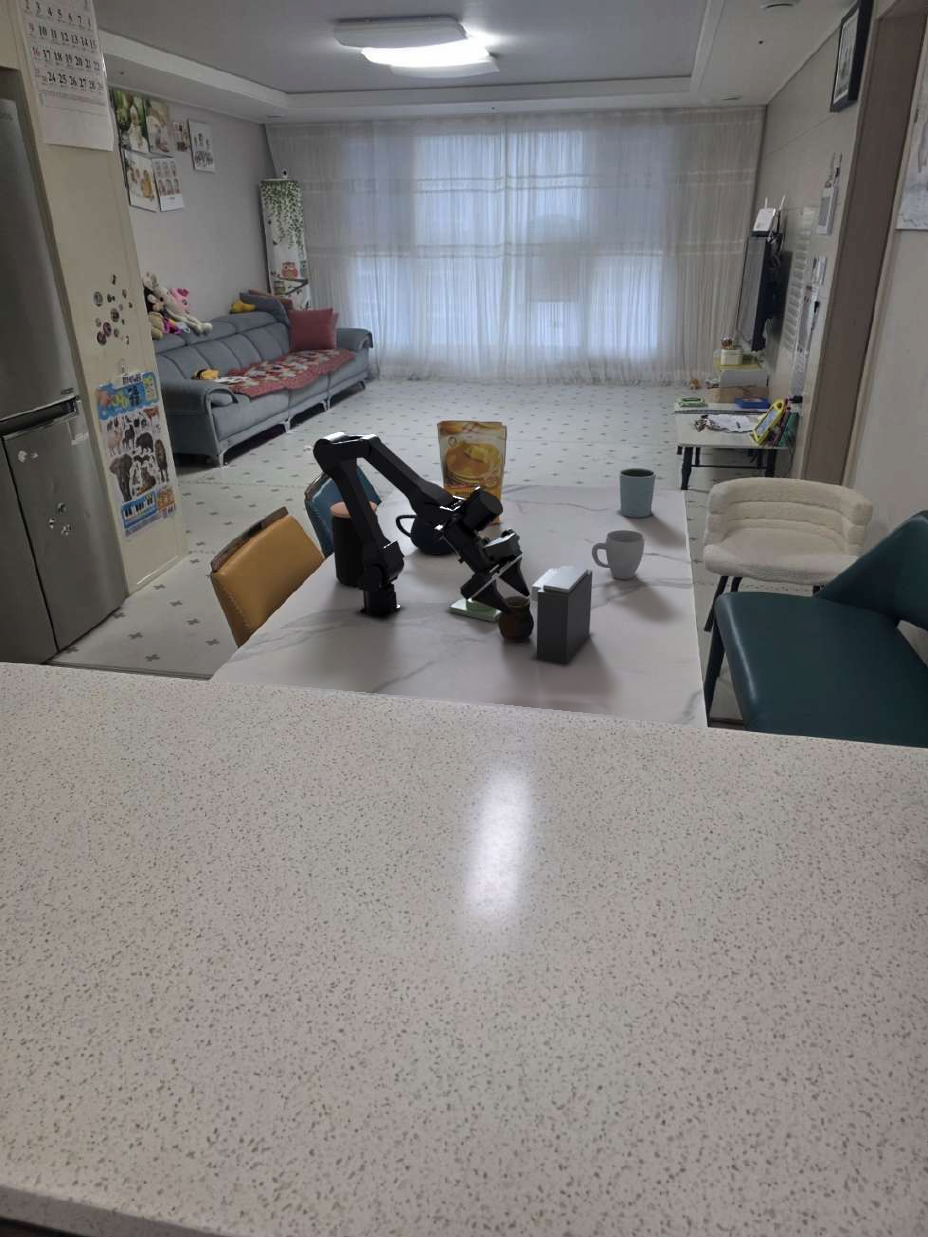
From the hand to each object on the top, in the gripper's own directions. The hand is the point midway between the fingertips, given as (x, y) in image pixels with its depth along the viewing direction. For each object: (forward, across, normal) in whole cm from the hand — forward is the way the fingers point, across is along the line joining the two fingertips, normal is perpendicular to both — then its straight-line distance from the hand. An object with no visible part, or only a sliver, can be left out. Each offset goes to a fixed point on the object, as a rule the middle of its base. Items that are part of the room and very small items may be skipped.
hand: (519, 604), depth 163 cm
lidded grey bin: (+11, 0, -1) cm, 11 cm away
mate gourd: (+5, 0, +6) cm, 8 cm away
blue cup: (+5, +88, +6) cm, 89 cm away
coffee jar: (-28, +13, +38) cm, 49 cm away
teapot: (-22, +40, +32) cm, 56 cm away
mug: (+11, +40, 0) cm, 42 cm away
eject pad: (-4, +9, +14) cm, 17 cm away
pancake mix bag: (-24, +64, +34) cm, 76 cm away
